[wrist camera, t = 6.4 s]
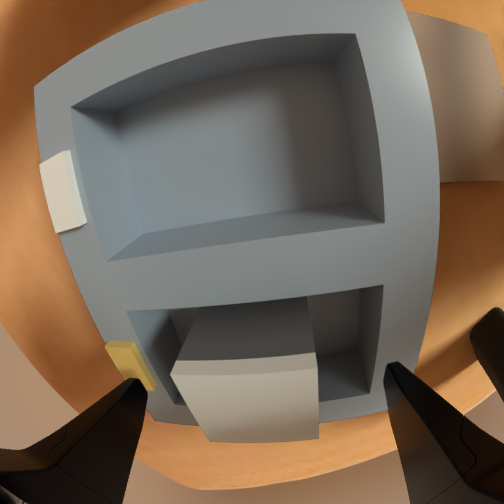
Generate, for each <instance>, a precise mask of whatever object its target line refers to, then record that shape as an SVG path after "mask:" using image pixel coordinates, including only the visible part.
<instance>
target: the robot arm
mask: <svg viewBox="0 0 504 504" xmlns="http://www.w3.org/2000/svg"><path fill="white" fill-rule="evenodd" d="M383 385H384V390H385V396H386V401H387V407H388V413H389V418H390V423H391V427H392V430H393V434H394V437H395V441H396V444H397V448H398V451H399V456H400V460H401V464H402V468H403V471H404V476H405V480H406V485H407V490H408V495H409V499H410V504H504V444H503V443H502V442H500V441H499V440H497V439H495V438H494V437H492V436H491V435H489V434H488V433H486V432H485V431H483V430H482V429H480V428H479V427H478V426H476V425H475V424H474V423H472V422H471V421H470V420H469V419H468V418H466V417H465V416H463V414H462V413H460V412H459V411H458V410H457V409H456V408H454V407H453V406H452V405H451V404H450V403H448V402H447V401H446V400H445V399H444V398H442V397H441V396H440V395H439V394H438V393H436V392H435V391H434V390H433V389H432V388H430V387H429V386H428V385H427V384H425V383H424V382H423V381H422V380H421V379H419V378H418V377H417V376H416V375H415V374H413V373H412V372H411V371H410V370H408V369H407V368H406V367H405V366H404V365H402V364H401V363H400V362H398V361H395V362H391V363H388V364H387V365H386V368H385V373H384V378H383ZM147 400H148V392H147V390H146V388H145V387H144V385H143V384H142V382H141V380H140V379H138V378H132V377H130V378H128V379H126V380H125V381H124V382H122V383H121V384H120V385H119V386H117V387H116V388H115V389H113V390H112V391H111V392H109V393H108V394H107V395H105V396H104V397H103V398H101V399H100V400H98V401H97V402H96V403H94V404H93V405H92V406H90V407H89V408H88V409H86V410H85V411H84V412H82V413H81V414H79V415H78V416H77V417H76V418H74V419H73V420H71V421H70V422H69V423H67V424H66V425H64V426H63V427H61V428H60V429H59V430H57V431H55V432H54V433H52V434H51V435H49V436H47V437H46V438H44V439H42V440H41V441H39V442H37V443H35V444H33V445H32V446H30V447H28V448H26V449H22V450H10V449H1V448H0V504H122V503H123V499H124V495H125V491H126V487H127V482H128V479H129V475H130V471H131V467H132V463H133V459H134V456H135V452H136V449H137V445H138V441H139V438H140V434H141V431H142V427H143V422H144V416H145V410H146V405H147Z"/></svg>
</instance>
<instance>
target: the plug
mask: <svg viewBox="0 0 504 504" xmlns="http://www.w3.org/2000/svg"><path fill="white" fill-rule="evenodd" d="M170 375H171V377H172V379H173V381H174V383H175V385H176V386H177V388H178V390H179V392H180V394H181V395H182V397H183V399H184V401H185V402H186V404H187V406H188V407H189V409H190V411H191V412H192V414H193V416H194V417H195V419H196V421H197V422H198V424H199V425H200V427H201V429H202V430H203V432H204V433H205V435H206V436H207V438H208V439H209V441H211V442H230V443H270V442H289V441H302V440H312V439H319V402H318V368H317V360H316V353H315V346H314V339H313V332H312V325H311V319H310V312H309V306H308V300H307V296H302V297H294V298H286V299H277V300H268V301H259V302H249V303H238V304H228V305H216V306H203V307H200V308H199V310H198V313H197V315H196V317H195V319H194V321H193V324H192V326H191V328H190V330H189V333H188V335H187V337H186V339H185V342H184V344H183V346H182V348H181V351H180V353H179V355H178V358H177V360H176V362H175V364H174V367H173V369H172V371H171V374H170Z"/></svg>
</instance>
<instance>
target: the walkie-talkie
mask: <svg viewBox="0 0 504 504" xmlns="http://www.w3.org/2000/svg"><path fill="white" fill-rule="evenodd" d="M470 340H471V342H472V345H473V348H474V351H475V354H476V357H477V359H478V361H479V362H480V364H481V365H482V367H483V369H484V370H485V372H486V373H487V375H488V376H489V378H490V380H491V381H492V383H493V385H494V386H495V388H496V390H497V391H498V393H499V395H500V397H501V398H502V400H503V402H504V311H503V310H502V309H501V308H498V307H497V308H495V309H493V310H492V311H491V312H490V313H489V314H488V315H487V316H486V317H485V318H484V319H483V320H482V321H481V322H480V323H479V324H478V325H477V326H476V327H475V328H474V329H473V330H472V332H471V335H470Z"/></svg>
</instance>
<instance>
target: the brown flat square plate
mask: <svg viewBox="0 0 504 504" xmlns="http://www.w3.org/2000/svg"><path fill="white" fill-rule="evenodd" d="M405 12H406V15H407V17H408V20H409V22H410V25H411V28H412V31H413V34H414V37H415V40H416V43H417V46H418V49H419V53H420V56H421V60H422V63H423V67H424V71H425V75H426V80H427V84H428V89H429V93H430V99H431V104H432V110H433V116H434V123H435V130H436V138H437V148H438V160H439V179H440V183H442V182H467V181H504V91H503V86H502V82H501V78H500V74H499V70H498V66H497V63H496V59H495V56H494V53H493V50H492V47H491V44H490V41H489V38H488V35H486V34H484V33H481V32H479V31H476V30H474V29H471V28H468V27H465V26H462V25H459V24H456V23H453V22H450V21H447V20H443V19H439V18H436V17H432V16H428V15H424V14H419V13H414V12H409V11H405Z"/></svg>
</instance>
